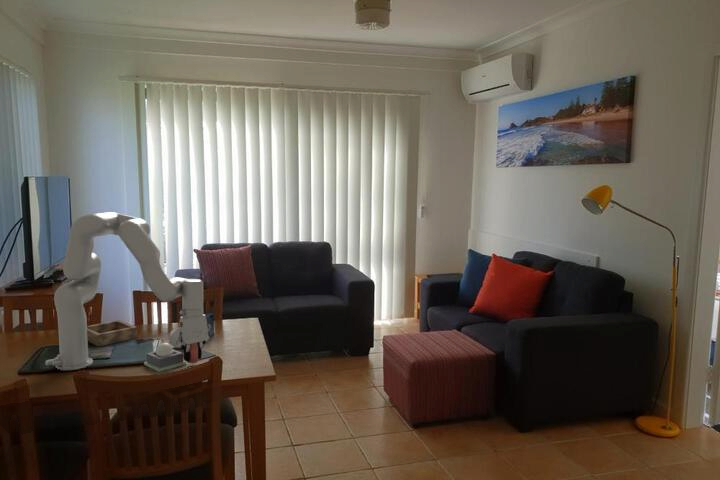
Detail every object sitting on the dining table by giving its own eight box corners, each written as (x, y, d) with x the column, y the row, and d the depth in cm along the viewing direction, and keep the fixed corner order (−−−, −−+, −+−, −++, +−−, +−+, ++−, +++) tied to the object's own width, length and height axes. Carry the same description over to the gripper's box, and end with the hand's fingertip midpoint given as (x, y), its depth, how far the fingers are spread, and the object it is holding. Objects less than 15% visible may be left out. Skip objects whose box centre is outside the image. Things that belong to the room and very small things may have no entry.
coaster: (198, 360, 214) (198, 359, 214) (186, 356, 219) (186, 355, 219) (215, 355, 220) (215, 354, 220) (204, 351, 225) (204, 350, 225)
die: (187, 355, 228) (196, 336, 235) (182, 341, 222) (191, 322, 229) (168, 353, 229) (177, 334, 236) (162, 339, 223) (172, 320, 230)
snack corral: (98, 346, 230) (97, 334, 229) (81, 338, 241) (80, 327, 240) (137, 338, 242) (137, 327, 242) (119, 330, 254) (119, 320, 253)
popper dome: (161, 361, 204) (161, 346, 204) (153, 357, 208) (153, 343, 208) (176, 357, 209) (176, 342, 208) (168, 353, 213) (167, 339, 212)
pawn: (190, 363, 205) (190, 341, 204) (185, 361, 208) (185, 339, 207) (200, 361, 208) (200, 339, 207) (194, 358, 211) (194, 337, 210)
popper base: (159, 371, 201) (158, 360, 201) (144, 364, 208) (143, 353, 208) (186, 364, 209) (185, 353, 209) (170, 357, 217) (170, 347, 216)
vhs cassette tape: (209, 334, 250) (209, 313, 248) (215, 335, 249) (215, 313, 248) (187, 346, 232) (187, 323, 231) (193, 346, 231) (193, 323, 230)
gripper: (177, 317, 197) (177, 367, 199) (217, 310, 210) (217, 357, 212) (167, 313, 202) (167, 362, 204) (206, 307, 215) (206, 352, 217)
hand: (192, 359), depth 208 cm, fingers closed on pawn, 4 cm apart
